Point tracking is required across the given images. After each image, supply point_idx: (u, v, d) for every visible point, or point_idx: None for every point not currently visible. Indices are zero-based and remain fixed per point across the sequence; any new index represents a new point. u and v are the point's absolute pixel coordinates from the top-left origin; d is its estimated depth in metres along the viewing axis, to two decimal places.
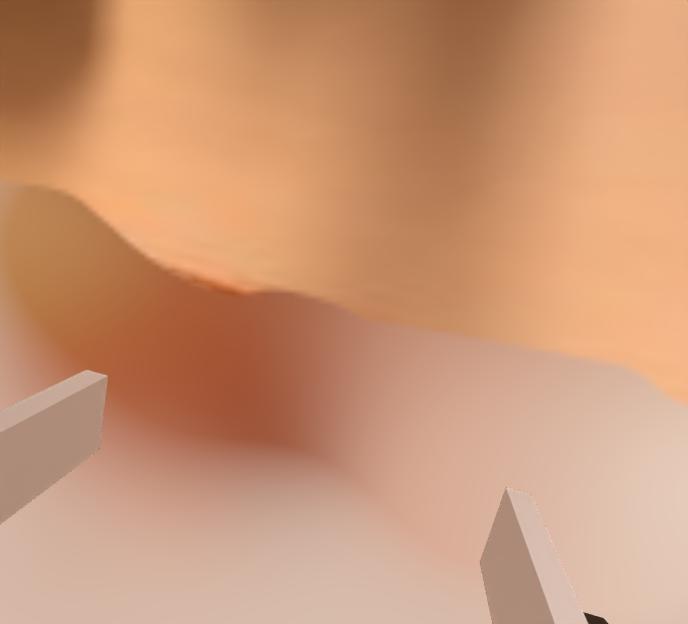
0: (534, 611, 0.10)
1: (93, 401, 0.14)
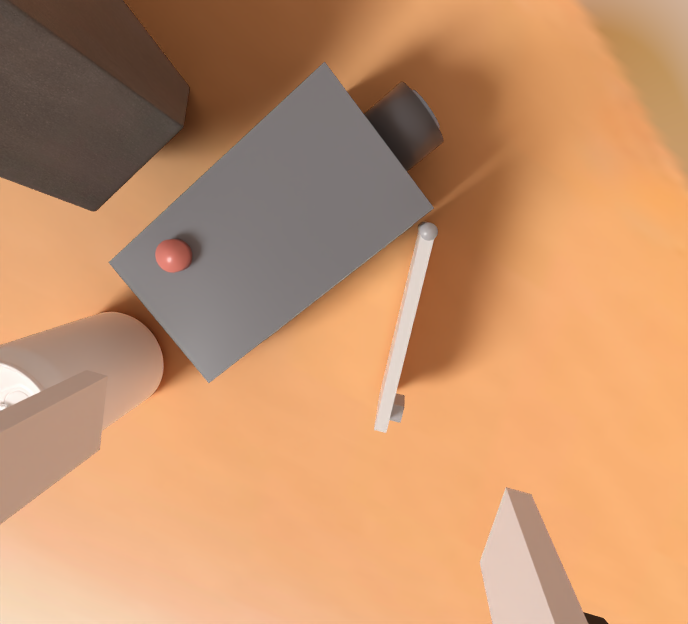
0: (534, 611, 0.10)
1: (93, 401, 0.14)
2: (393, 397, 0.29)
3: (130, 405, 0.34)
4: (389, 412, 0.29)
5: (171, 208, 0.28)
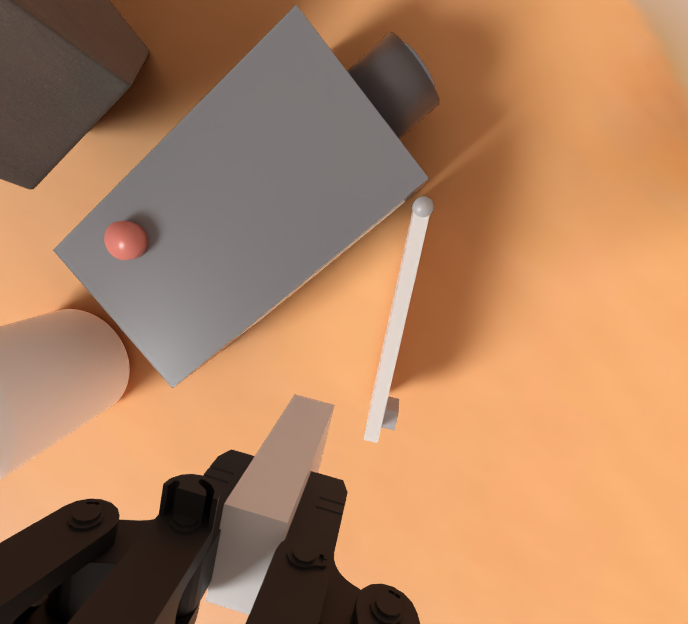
0: None
1: None
2: (385, 402, 0.25)
3: (88, 414, 0.30)
4: (380, 419, 0.25)
5: (122, 184, 0.24)
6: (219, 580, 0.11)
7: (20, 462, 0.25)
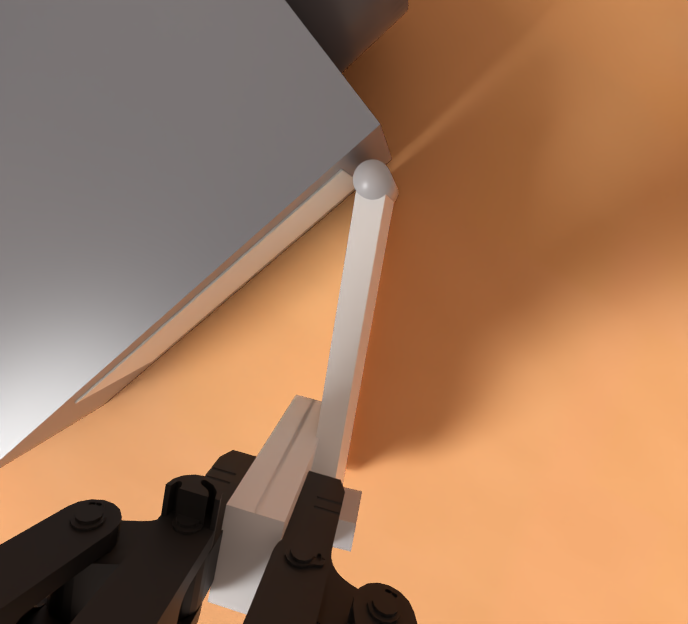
0: None
1: None
2: None
3: None
4: None
5: None
6: (221, 581, 0.11)
7: None
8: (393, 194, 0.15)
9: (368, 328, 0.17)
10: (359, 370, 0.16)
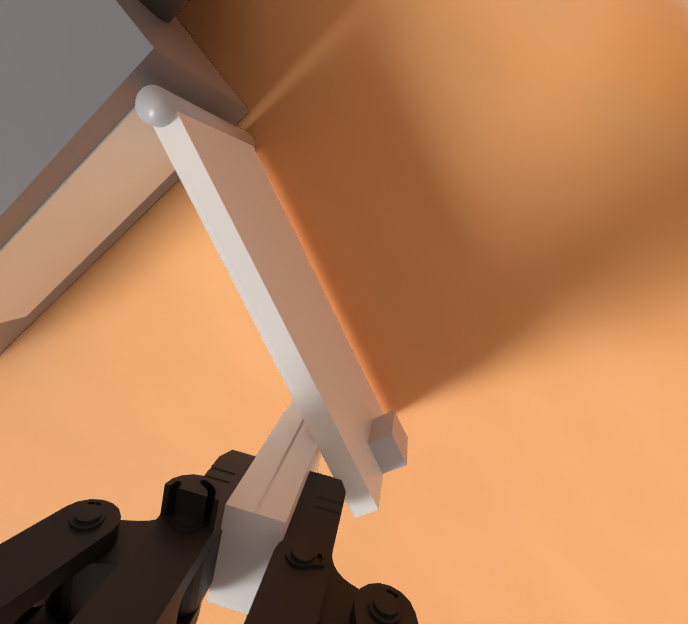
0: None
1: None
2: (339, 439, 0.13)
3: None
4: (355, 470, 0.14)
5: None
6: (220, 580, 0.11)
7: None
8: (219, 125, 0.15)
9: (291, 257, 0.16)
10: (300, 294, 0.16)
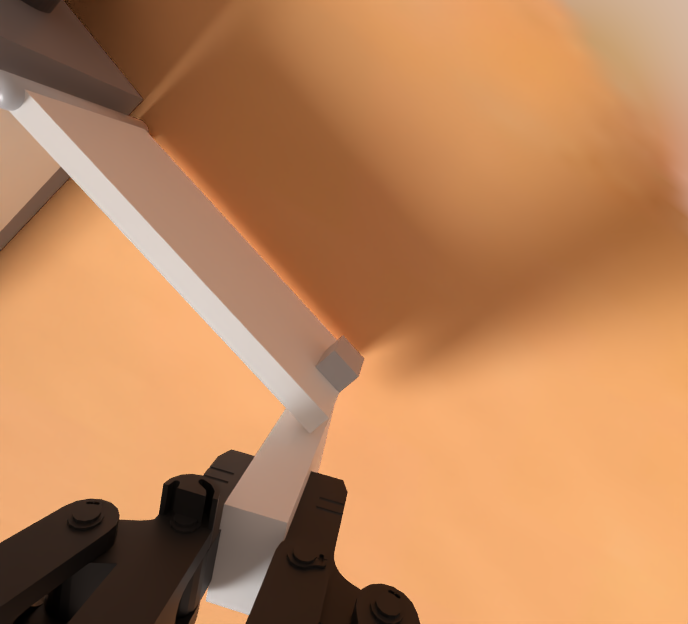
0: None
1: None
2: (269, 358, 0.13)
3: None
4: (294, 384, 0.14)
5: None
6: (219, 580, 0.11)
7: None
8: (90, 106, 0.16)
9: (199, 215, 0.17)
10: (212, 243, 0.16)
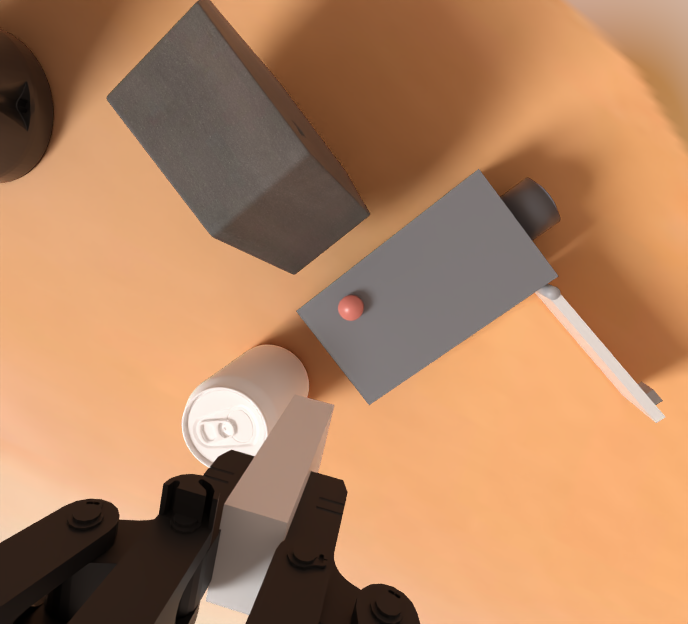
0: None
1: None
2: (643, 393, 0.35)
3: None
4: (652, 404, 0.35)
5: (350, 271, 0.37)
6: (219, 580, 0.11)
7: None
8: None
9: None
10: None
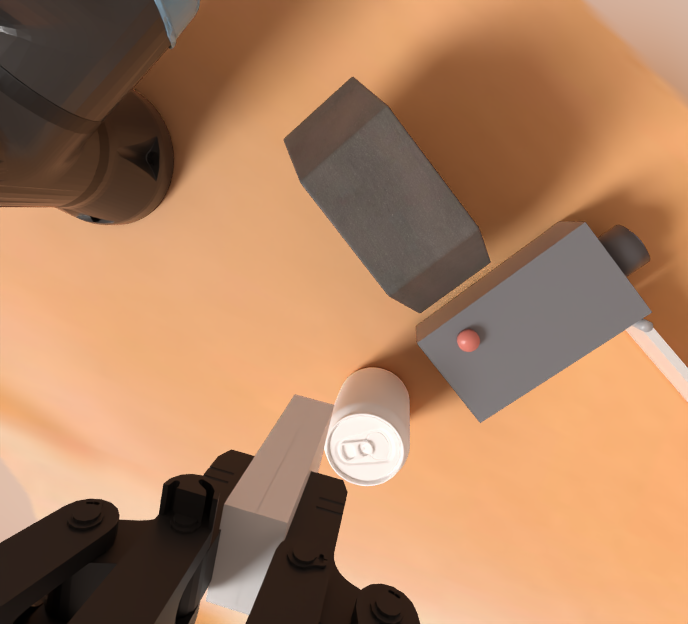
0: None
1: None
2: None
3: None
4: None
5: (467, 309, 0.42)
6: (219, 580, 0.11)
7: None
8: None
9: None
10: None
